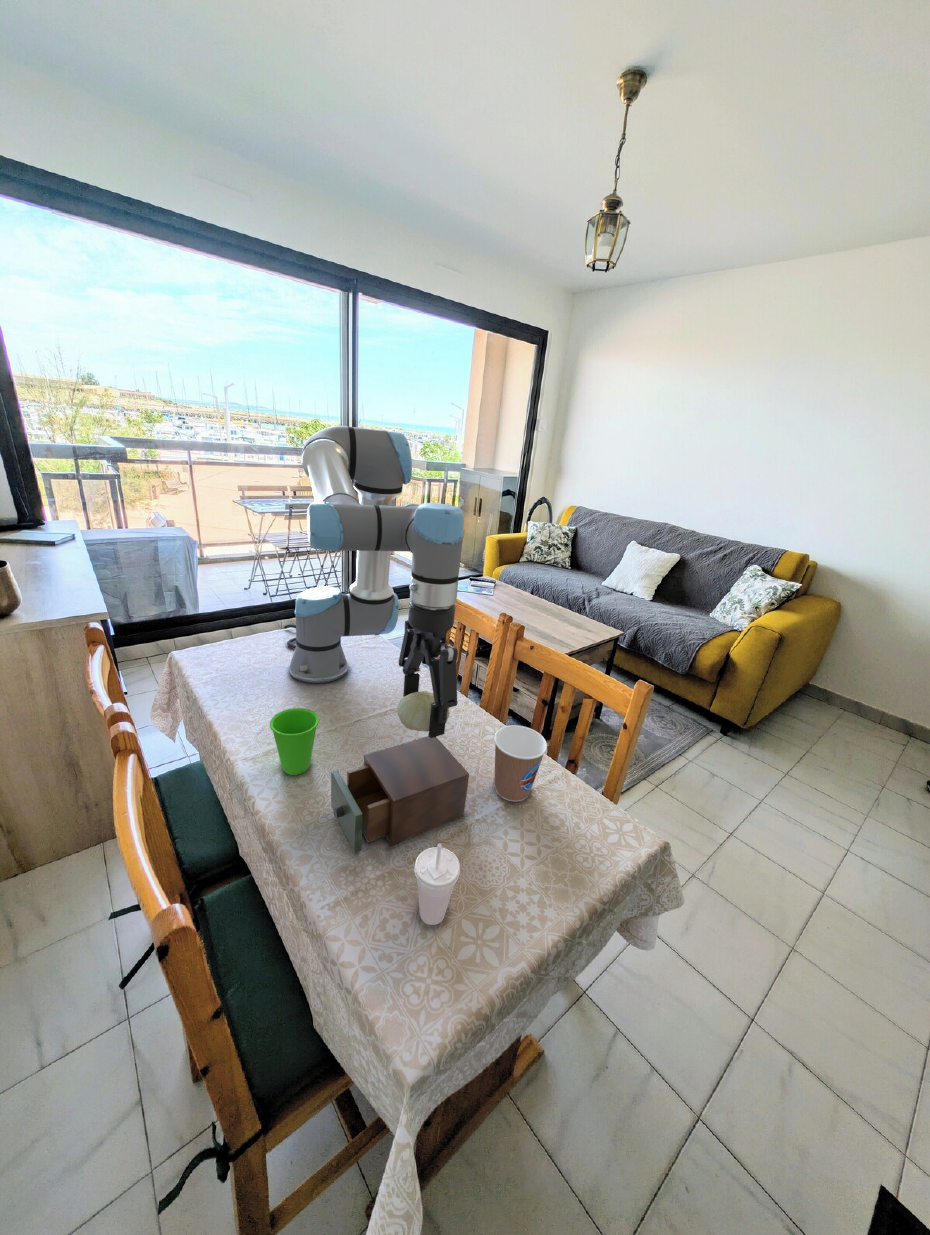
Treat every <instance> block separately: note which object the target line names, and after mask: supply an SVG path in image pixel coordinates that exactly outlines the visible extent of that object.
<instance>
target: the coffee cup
mask: <svg viewBox="0 0 930 1235" xmlns="http://www.w3.org/2000/svg"><path fill="white" fill-rule="evenodd" d="M493 740H494V780H493V782H494V789H495V791H496V794H497V795H498V796H499V797H500V798H502V799H503V800H506V801H509V802H514V803H515V802H522V801H524V800H525V799H527V798H528V797H529V794H530V792H531V791H532V789H533V788H532V787H533V786H534V783H535V780H536V777H537V775H538V771H539V769H540V766H541V764H542V761H543V757H544V754H546V753H547V751H548V750H547V749H548V743H547V740H546V739H545V738H544V736H543V735H542V734H541V733H540V732H538V731H537V730H535V729H532V728H530V727H527V726H523V725H517V724H515V725H513V724H512V725H506V726H503V727H501V728H499V729H497V731H496V732H495V733H494V736H493Z"/></svg>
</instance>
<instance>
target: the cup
mask: <svg viewBox="0 0 930 1235" xmlns="http://www.w3.org/2000/svg"><path fill="white" fill-rule="evenodd" d="M319 723H320V717H319V715H318V714H317V712H315V711H314V710H311V709H308V708H303V707H295V708H288V709H285V710H282V711H280V712H278V713H276V714H275V715H273V717H272V718H271V719H270V721H269V728H270V730H271V731H272V734H273V738H274V742H275V746H276V748H277V753H278V757H279V760H280V765H281V768H282V771H283V772H284V773H286V774H287V775H290V776H298V775H302V774H304V773H306V772H307V770H308V769H309V767H310V765H311V761H312V754H313V749H314V744H315V738H316V732H317V727H318V726H319Z"/></svg>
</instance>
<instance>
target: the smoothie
mask: <svg viewBox="0 0 930 1235" xmlns="http://www.w3.org/2000/svg"><path fill="white" fill-rule="evenodd" d="M442 846H443V844H442V843H438V844H437V846H433V847H429V848H426V849H425V850H423V851H421V852H420V853H419V854H418V856H417V857H416V859H415V864H414V876H415V878H416V881H417V894H418V896H417V897H418V909H419V917H420V919H421V920H422V922H423V923H425V924H426V925H428V926H429V925H430V926H436V925H439V924H441V922H442V921H443V920H444V918H445V915H446V912H447V909H448V906H449V903H450V899H451V897H452V893H453V890H454V887H455V884H456V883H457V881H458V880H459V878H460V872H461V864H460V860H459V858H458V857H457V855H456V854H455V853H454V852H452V851H451V850H449V849H448V848H446V847H442Z"/></svg>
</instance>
